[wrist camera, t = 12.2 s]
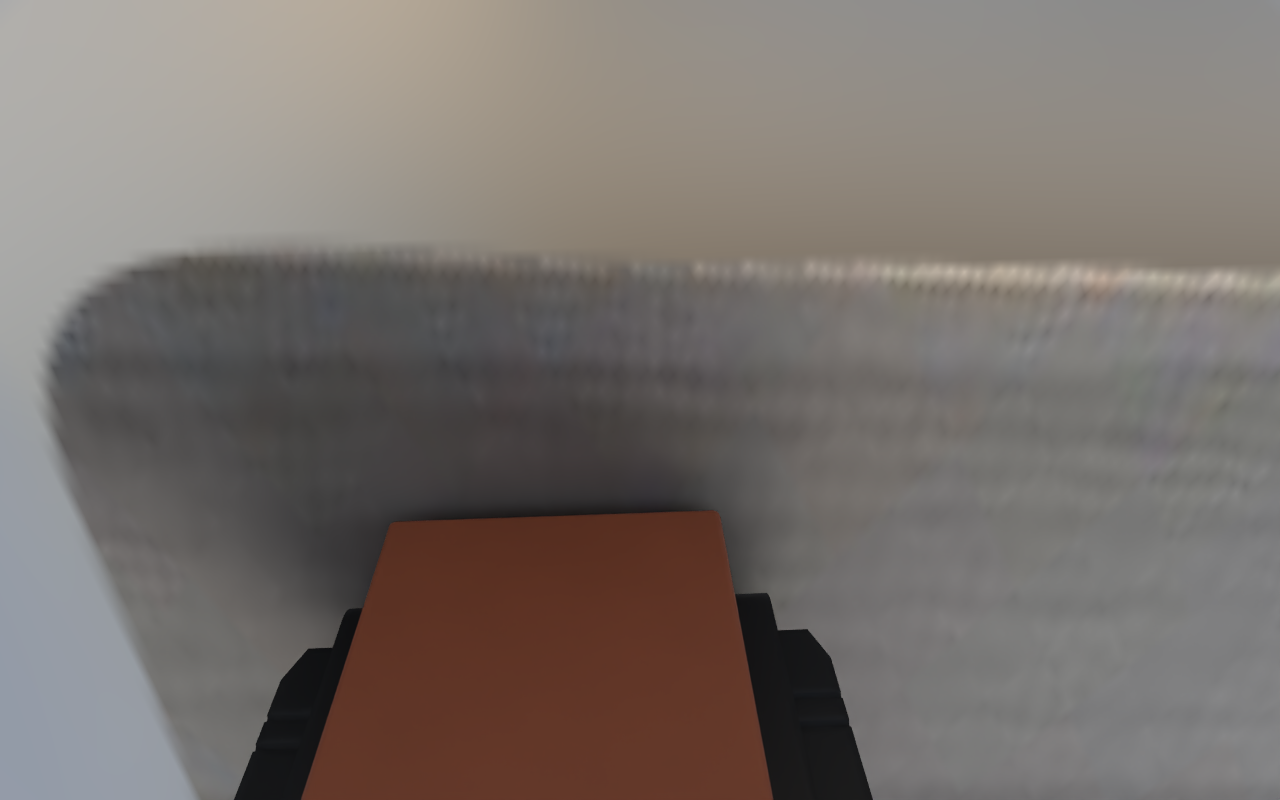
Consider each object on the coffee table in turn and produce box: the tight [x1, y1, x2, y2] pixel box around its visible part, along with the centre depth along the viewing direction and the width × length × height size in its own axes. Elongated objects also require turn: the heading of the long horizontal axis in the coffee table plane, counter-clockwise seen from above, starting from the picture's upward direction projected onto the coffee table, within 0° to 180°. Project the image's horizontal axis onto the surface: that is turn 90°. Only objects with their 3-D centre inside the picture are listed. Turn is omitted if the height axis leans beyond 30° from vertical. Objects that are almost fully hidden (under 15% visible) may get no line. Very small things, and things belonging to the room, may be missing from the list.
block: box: [301, 510, 774, 800], centre depth 10 cm, size 4×4×4 cm
